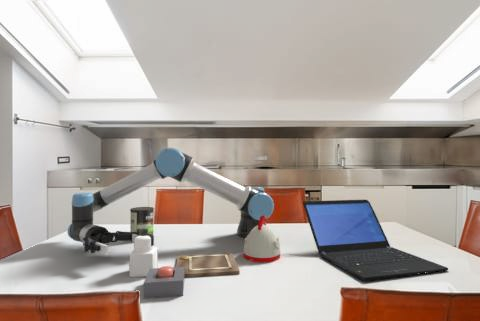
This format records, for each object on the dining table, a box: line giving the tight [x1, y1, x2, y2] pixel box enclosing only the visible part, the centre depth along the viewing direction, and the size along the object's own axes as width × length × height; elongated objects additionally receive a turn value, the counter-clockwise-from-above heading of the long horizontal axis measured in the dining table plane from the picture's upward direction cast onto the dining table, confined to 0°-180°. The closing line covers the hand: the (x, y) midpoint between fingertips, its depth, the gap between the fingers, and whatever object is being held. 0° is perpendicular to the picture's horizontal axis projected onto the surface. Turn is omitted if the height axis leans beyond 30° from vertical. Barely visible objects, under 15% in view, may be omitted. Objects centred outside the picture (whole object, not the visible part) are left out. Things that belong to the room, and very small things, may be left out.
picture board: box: [175, 252, 240, 278], centre depth 97 cm, size 20×18×1 cm
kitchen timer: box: [242, 216, 281, 263], centre depth 107 cm, size 14×14×15 cm
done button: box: [158, 265, 173, 278], centre depth 79 cm, size 4×4×3 cm
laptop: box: [302, 199, 449, 282], centre depth 105 cm, size 33×38×19 cm
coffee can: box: [129, 206, 155, 236], centre depth 131 cm, size 10×10×14 cm
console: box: [143, 266, 185, 299], centre depth 79 cm, size 10×10×4 cm
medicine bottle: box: [128, 234, 158, 278], centre depth 90 cm, size 7×7×12 cm
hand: (126, 245), depth 96 cm, fingers open, 13 cm apart
